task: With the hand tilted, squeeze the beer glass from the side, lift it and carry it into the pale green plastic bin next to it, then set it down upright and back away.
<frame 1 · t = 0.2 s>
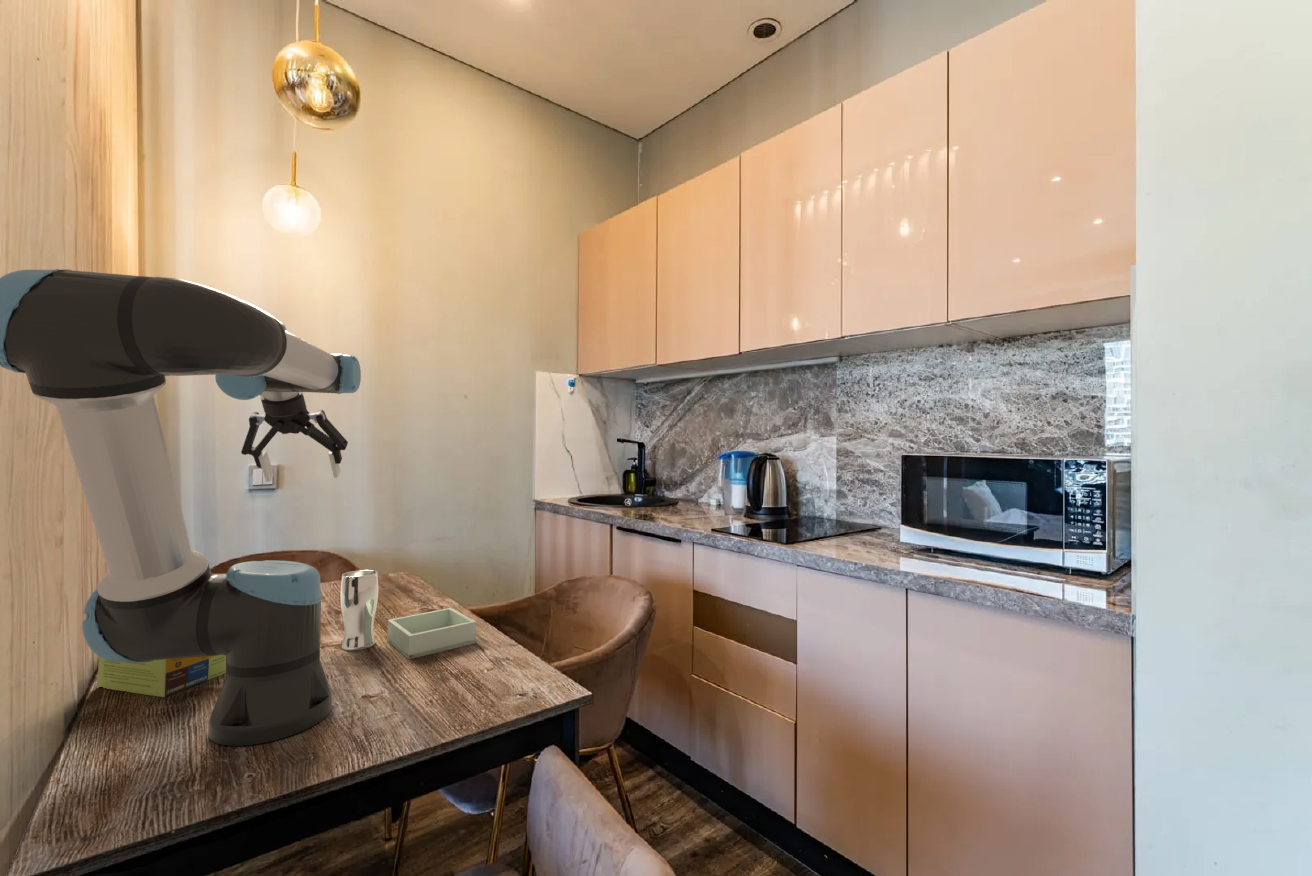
hand: (304, 476, 125), 35 cm above the table, tool tilted 30°, fingers open, 13 cm apart
bin: (431, 642, 116), on the table
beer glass: (358, 646, 113), on the table
protein box: (164, 681, 96), on the table
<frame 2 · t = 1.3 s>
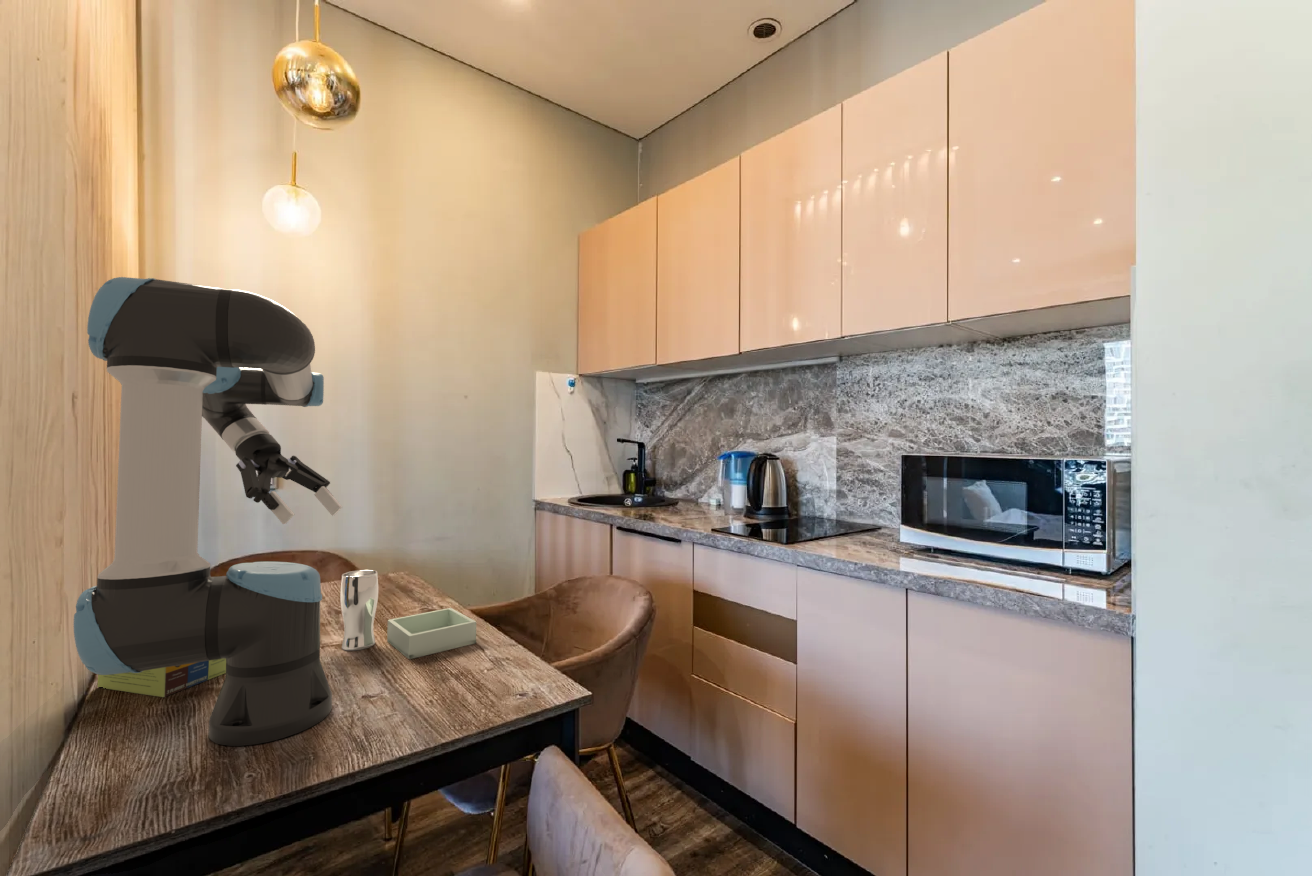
hand: (314, 515, 116), 27 cm above the table, tool tilted 45°, fingers open, 13 cm apart
nothing on the table moved.
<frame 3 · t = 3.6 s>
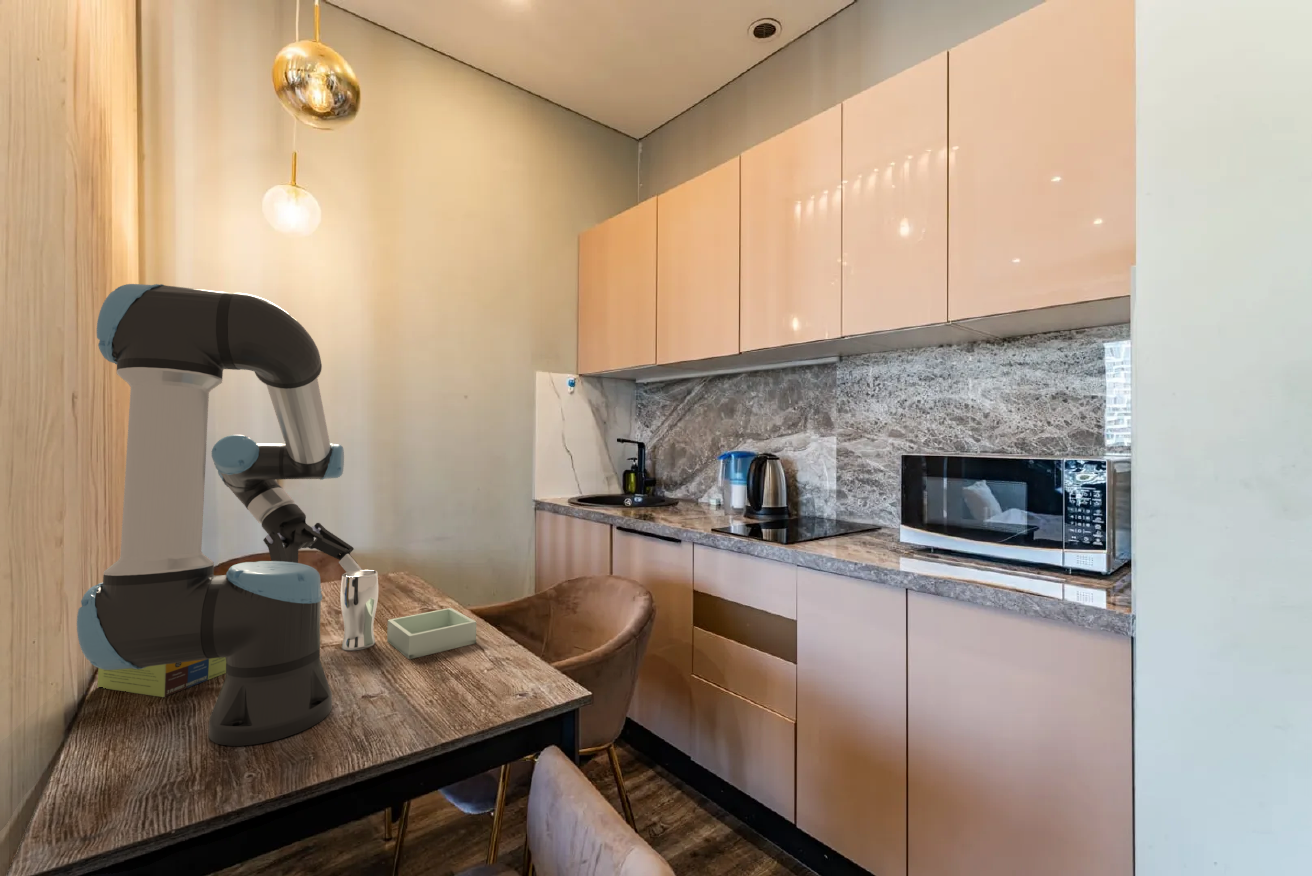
hand: (340, 587, 115), 12 cm above the table, tool tilted 45°, fingers open, 13 cm apart
nothing on the table moved.
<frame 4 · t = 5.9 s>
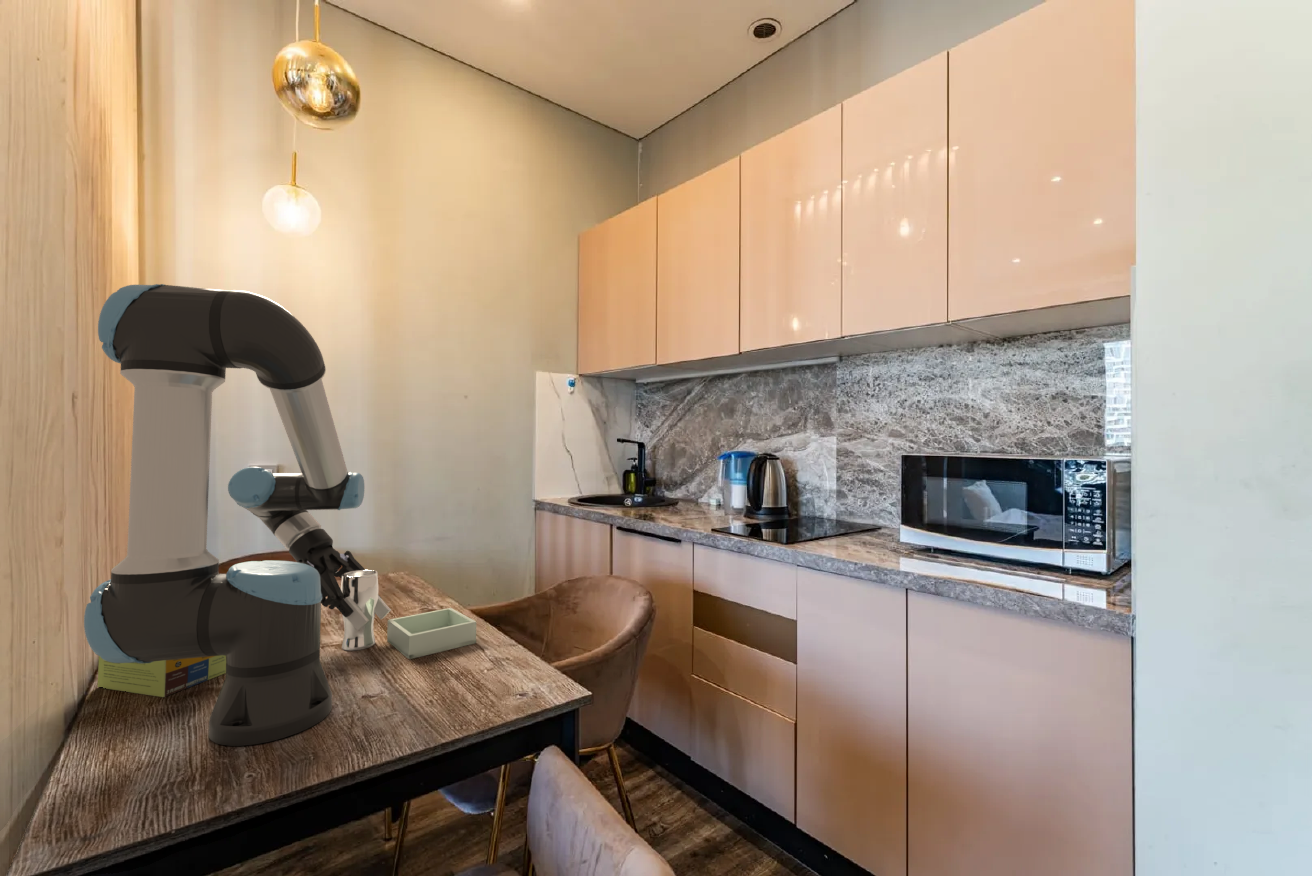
hand: (374, 619, 113), 5 cm above the table, tool tilted 45°, fingers closed on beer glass, 7 cm apart
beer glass: (358, 646, 113), on the table, touching gripper
everything else where it was.
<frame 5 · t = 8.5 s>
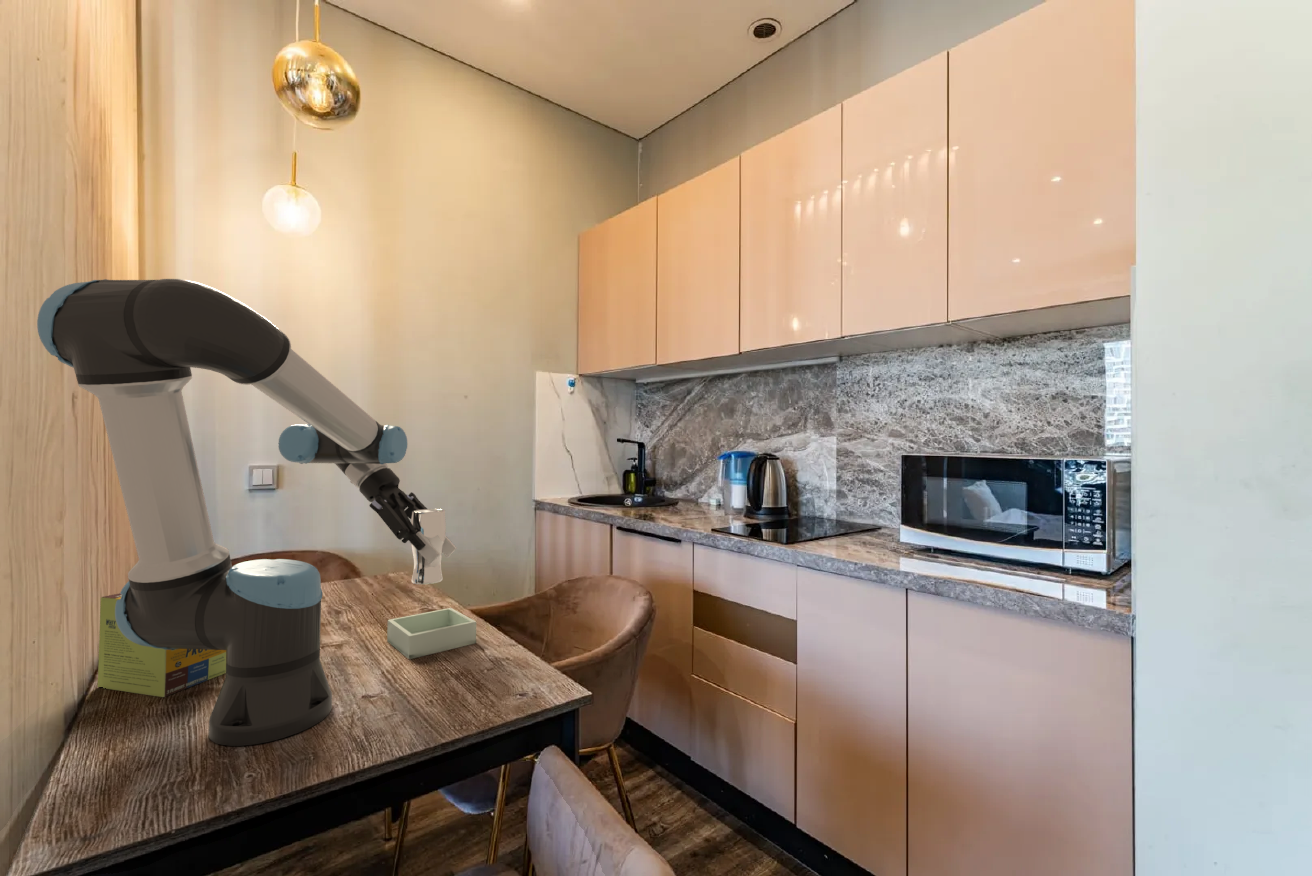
hand: (443, 555, 116), 18 cm above the table, tool tilted 45°, fingers closed on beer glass, 7 cm apart
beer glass: (427, 582, 116), point 13 cm above the table, touching gripper
everything else where it was.
when the fingers open (8 cm above the table, at t = 10.9 s): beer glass drops 1 cm, resting on bin.
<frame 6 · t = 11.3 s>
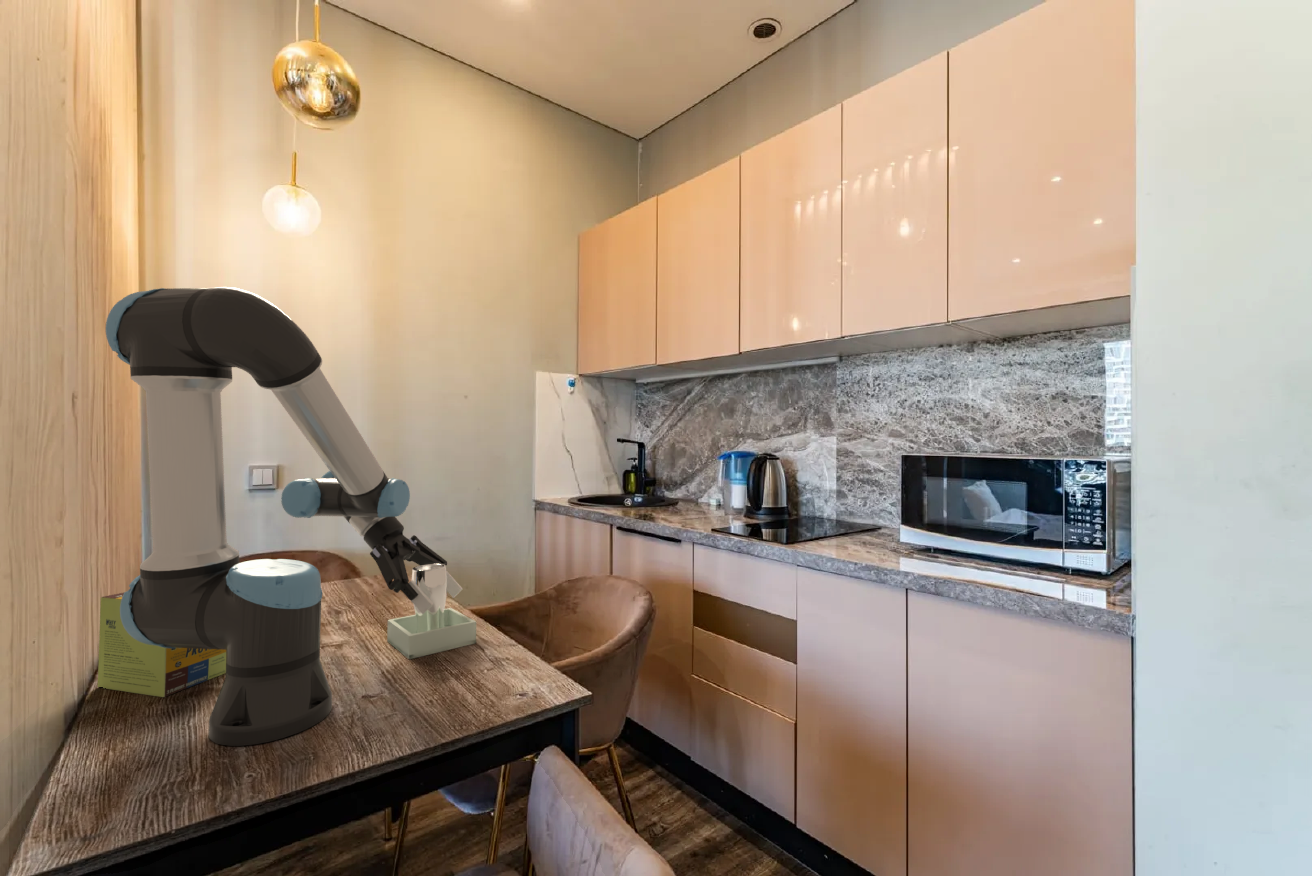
hand: (443, 600, 115), 9 cm above the table, tool tilted 45°, fingers open, 11 cm apart
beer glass: (430, 638, 115), point 1 cm above the table, touching bin
everything else where it was.
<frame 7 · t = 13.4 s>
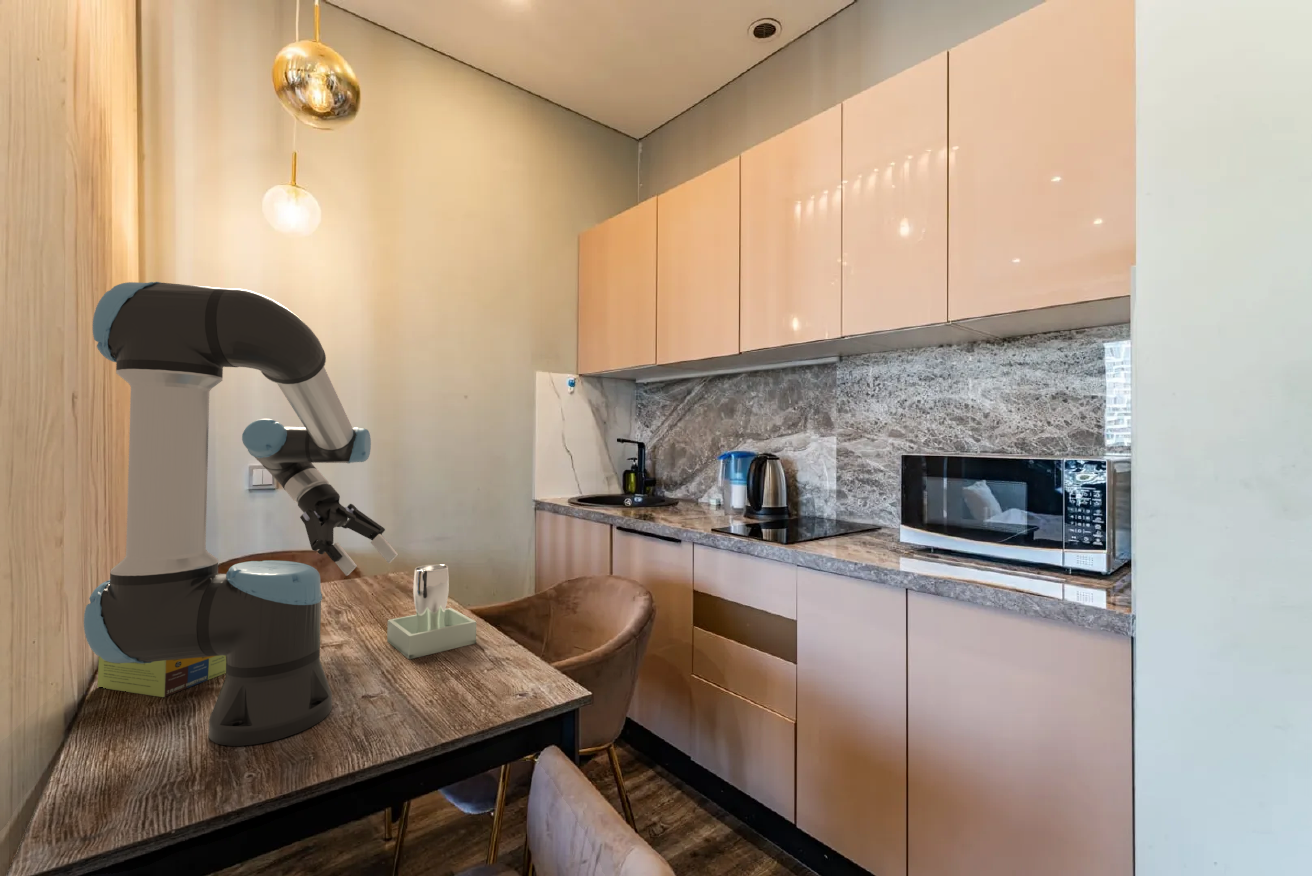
hand: (373, 564, 118), 16 cm above the table, tool tilted 45°, fingers open, 13 cm apart
nothing on the table moved.
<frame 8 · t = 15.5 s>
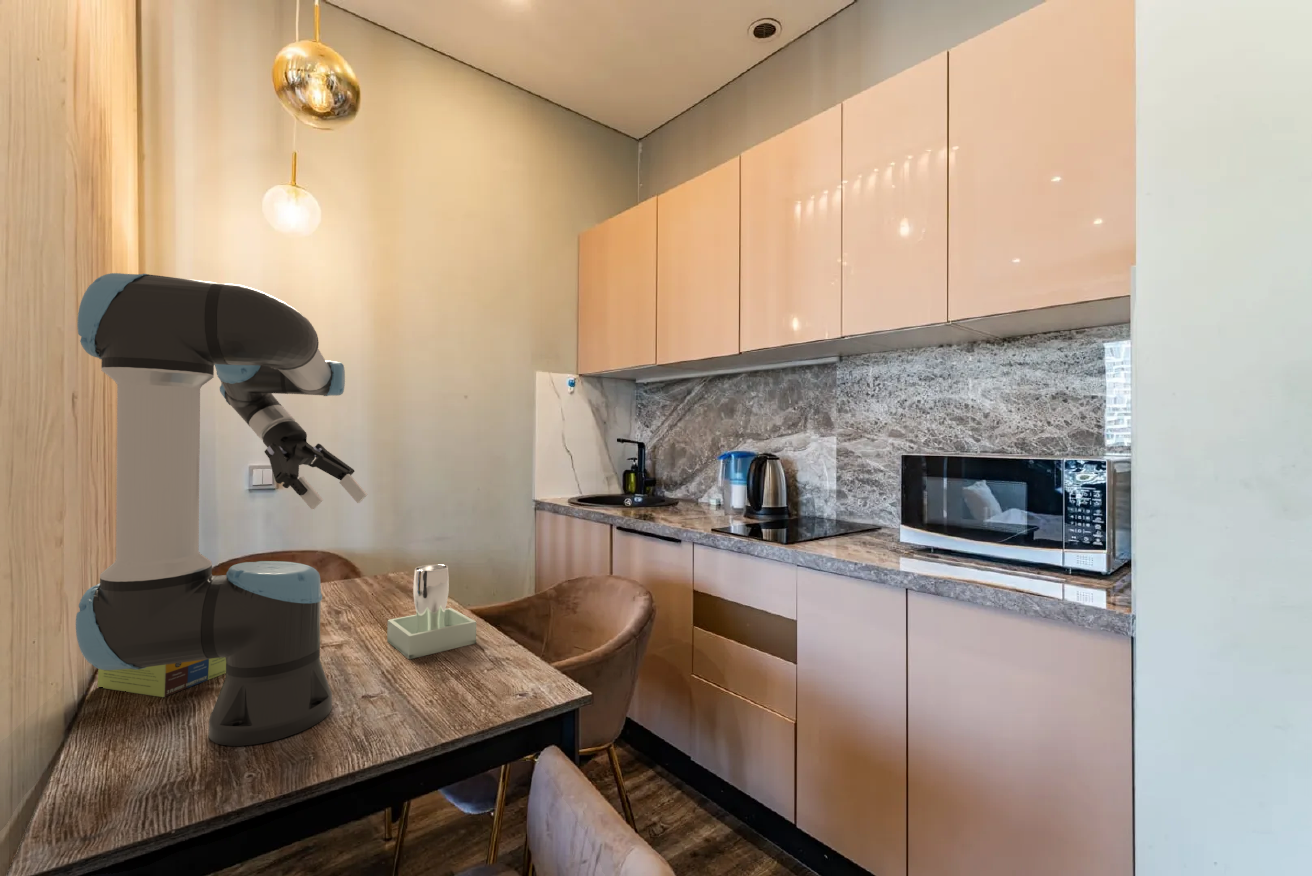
hand: (341, 501, 116), 30 cm above the table, tool tilted 45°, fingers open, 13 cm apart
nothing on the table moved.
at the end: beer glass inside the target area on the bin (0.2 cm from its centre), point 0.6 cm above the bin's base; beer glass tilted 0°; the gripper is holding nothing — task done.
